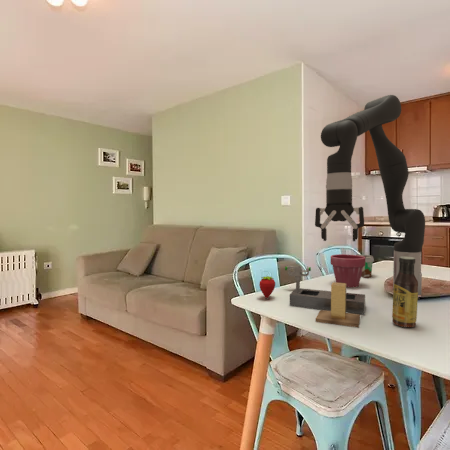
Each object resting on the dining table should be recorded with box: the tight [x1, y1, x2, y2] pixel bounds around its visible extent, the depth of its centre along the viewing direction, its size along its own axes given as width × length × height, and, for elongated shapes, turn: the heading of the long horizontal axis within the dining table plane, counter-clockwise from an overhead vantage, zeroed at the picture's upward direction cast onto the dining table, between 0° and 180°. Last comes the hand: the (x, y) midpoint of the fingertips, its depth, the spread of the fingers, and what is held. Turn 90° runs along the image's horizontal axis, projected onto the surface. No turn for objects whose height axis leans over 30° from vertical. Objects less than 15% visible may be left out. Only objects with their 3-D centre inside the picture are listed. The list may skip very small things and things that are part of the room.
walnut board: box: [315, 309, 361, 328], centre depth 100 cm, size 12×9×1 cm
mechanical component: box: [284, 265, 312, 289], centre depth 134 cm, size 3×10×10 cm, turn 78°
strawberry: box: [258, 273, 276, 299], centre depth 123 cm, size 6×8×10 cm
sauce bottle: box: [391, 257, 419, 328], centre depth 94 cm, size 7×6×20 cm
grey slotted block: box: [289, 287, 366, 315], centre depth 113 cm, size 24×10×4 cm, turn 65°
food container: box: [355, 253, 375, 279], centre depth 160 cm, size 12×6×10 cm, turn 179°
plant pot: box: [330, 253, 365, 289], centre depth 142 cm, size 14×14×13 cm
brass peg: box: [330, 281, 347, 319], centre depth 99 cm, size 4×4×10 cm
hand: (339, 240), depth 101 cm, fingers open, 8 cm apart
